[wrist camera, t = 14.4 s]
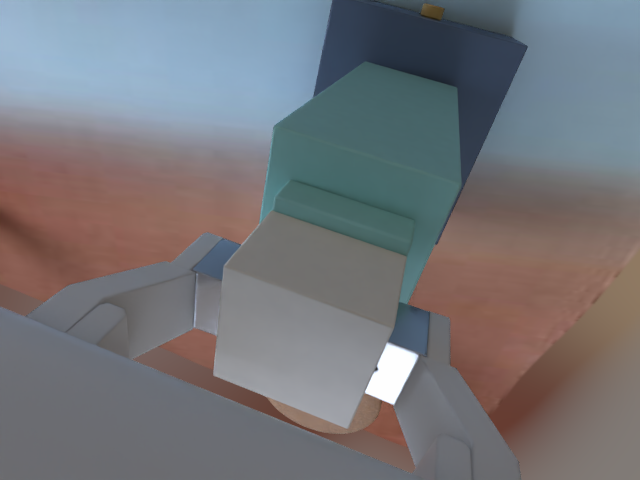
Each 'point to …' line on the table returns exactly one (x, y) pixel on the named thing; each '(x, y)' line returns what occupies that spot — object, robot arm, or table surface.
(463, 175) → the blue box
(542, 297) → the table surface
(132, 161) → the table surface
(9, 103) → the table surface
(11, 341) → the robot arm
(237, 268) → the two-tone mint box
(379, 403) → the trinket box
